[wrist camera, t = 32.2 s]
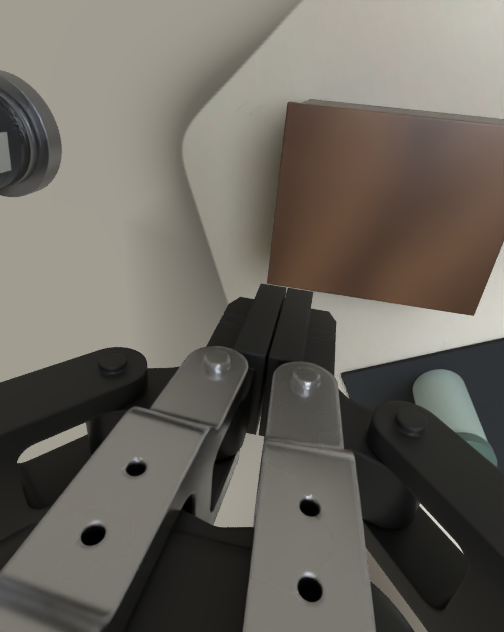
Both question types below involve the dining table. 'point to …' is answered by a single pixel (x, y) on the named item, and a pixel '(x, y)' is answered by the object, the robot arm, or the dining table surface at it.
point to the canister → (452, 407)
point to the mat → (468, 362)
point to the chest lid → (388, 206)
